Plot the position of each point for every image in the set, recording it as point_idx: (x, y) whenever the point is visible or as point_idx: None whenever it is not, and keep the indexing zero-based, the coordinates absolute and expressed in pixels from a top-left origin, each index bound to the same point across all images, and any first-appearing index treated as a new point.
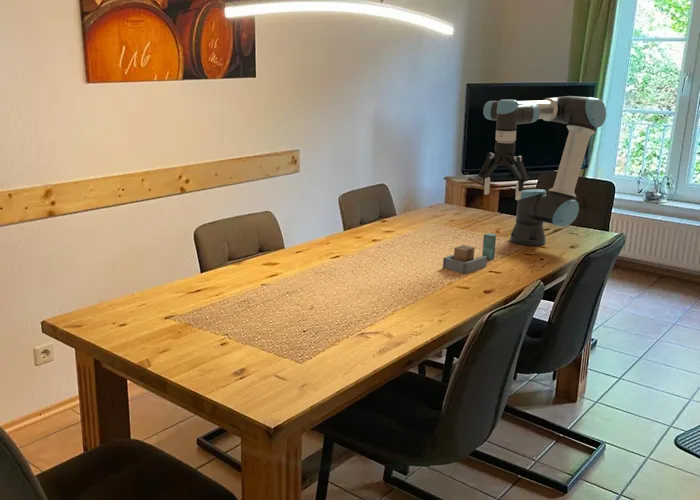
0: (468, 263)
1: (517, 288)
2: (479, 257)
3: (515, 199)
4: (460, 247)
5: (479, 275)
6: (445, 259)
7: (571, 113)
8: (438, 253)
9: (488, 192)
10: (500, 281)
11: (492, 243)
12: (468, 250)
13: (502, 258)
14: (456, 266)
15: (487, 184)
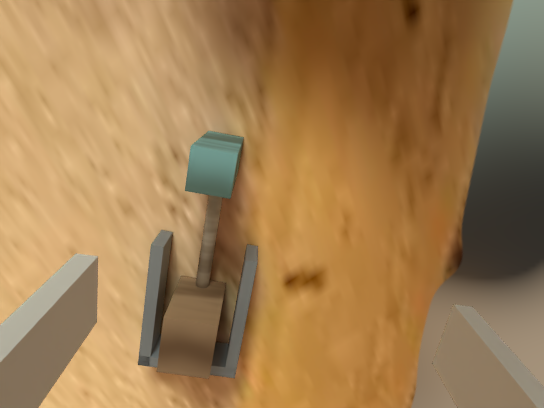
0: (236, 365)
1: (411, 375)
2: (212, 219)
3: (434, 365)
4: (172, 355)
5: (276, 336)
6: (147, 362)
7: None
8: (32, 194)
9: (90, 283)
10: (351, 349)
11: (235, 174)
12: (212, 358)
13: (266, 104)
14: None
15: (34, 386)
